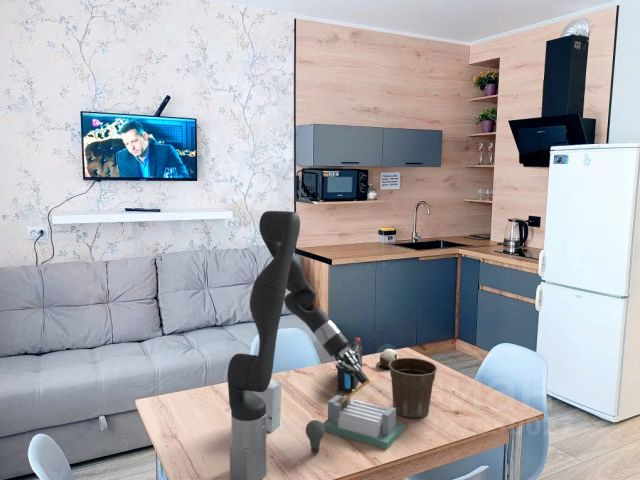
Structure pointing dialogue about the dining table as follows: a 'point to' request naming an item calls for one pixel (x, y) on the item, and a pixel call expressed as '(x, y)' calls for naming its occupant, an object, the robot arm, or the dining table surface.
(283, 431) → the dining table surface
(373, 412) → the base
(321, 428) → the light bulb
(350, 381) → the game console
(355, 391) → the retention strap
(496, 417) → the dining table surface
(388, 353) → the skull
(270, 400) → the skincare box
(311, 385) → the dining table surface
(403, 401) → the plant pot
